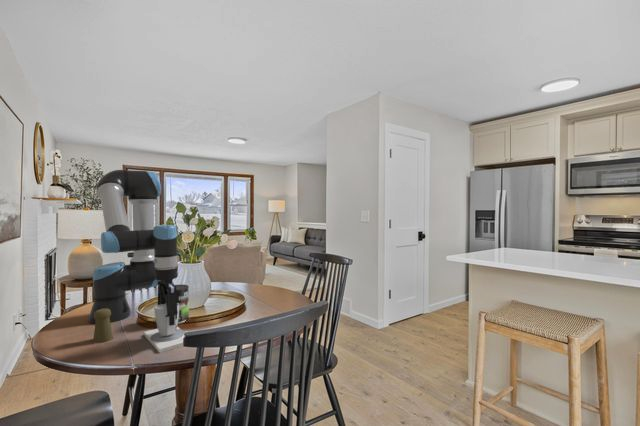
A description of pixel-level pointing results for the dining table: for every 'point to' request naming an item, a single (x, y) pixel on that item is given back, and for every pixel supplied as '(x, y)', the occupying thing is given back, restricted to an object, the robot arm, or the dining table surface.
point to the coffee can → (182, 302)
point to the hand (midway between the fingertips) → (167, 330)
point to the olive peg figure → (102, 326)
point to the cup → (163, 318)
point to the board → (165, 339)
